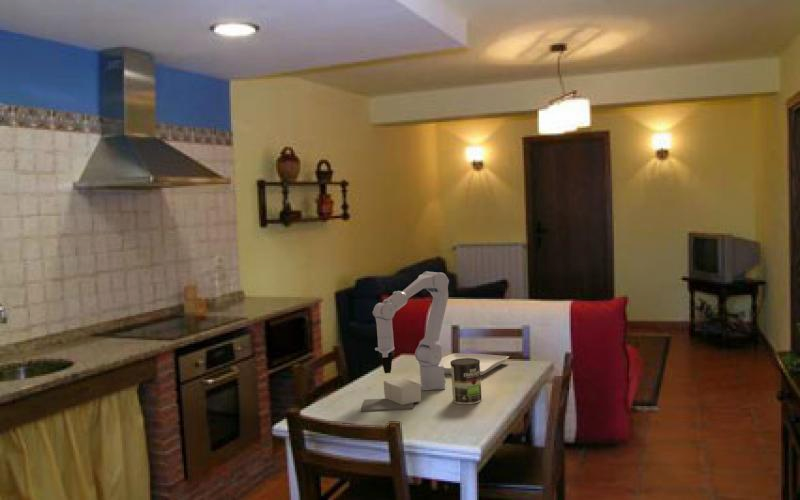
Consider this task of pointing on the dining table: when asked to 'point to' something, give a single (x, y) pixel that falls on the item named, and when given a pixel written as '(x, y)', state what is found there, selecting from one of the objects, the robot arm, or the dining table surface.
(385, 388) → the small box
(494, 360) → the square plate
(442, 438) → the dining table surface
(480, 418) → the dining table surface
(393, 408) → the mat
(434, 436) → the dining table surface
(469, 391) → the coffee can
